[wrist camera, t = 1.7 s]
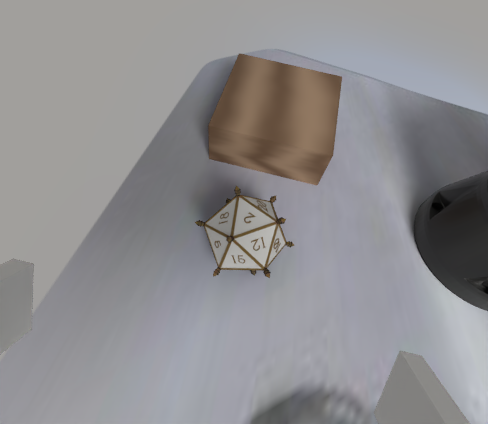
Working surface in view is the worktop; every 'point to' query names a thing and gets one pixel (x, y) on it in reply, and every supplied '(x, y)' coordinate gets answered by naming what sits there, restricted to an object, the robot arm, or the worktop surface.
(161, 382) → the worktop surface
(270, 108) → the walnut block
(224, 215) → the game die
